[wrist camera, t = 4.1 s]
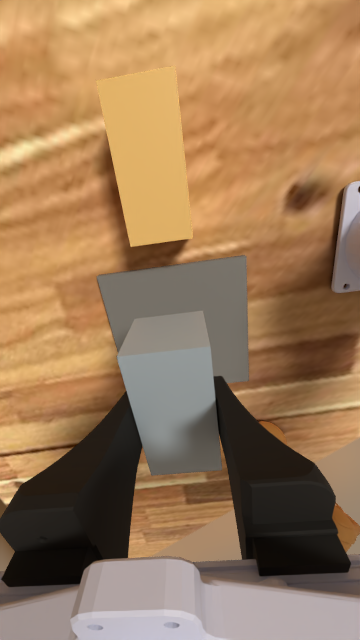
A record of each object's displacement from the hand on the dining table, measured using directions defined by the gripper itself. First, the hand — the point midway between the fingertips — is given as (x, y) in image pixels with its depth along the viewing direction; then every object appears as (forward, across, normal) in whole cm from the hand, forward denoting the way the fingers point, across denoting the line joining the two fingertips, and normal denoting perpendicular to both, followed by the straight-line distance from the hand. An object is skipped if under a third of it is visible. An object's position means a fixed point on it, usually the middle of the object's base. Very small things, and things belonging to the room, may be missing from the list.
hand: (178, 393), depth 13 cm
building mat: (+8, 0, 0) cm, 8 cm away
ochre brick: (+9, 0, -12) cm, 15 cm away
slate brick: (+2, 0, 0) cm, 2 cm away
